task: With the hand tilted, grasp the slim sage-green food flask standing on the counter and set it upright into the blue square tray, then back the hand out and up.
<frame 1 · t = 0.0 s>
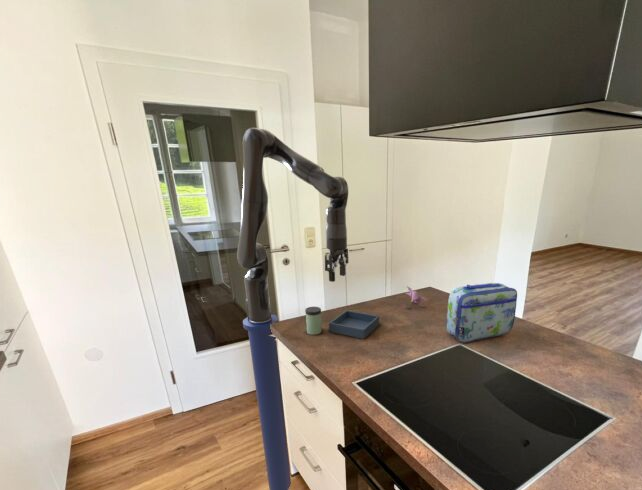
hand: (337, 278, 137), 21 cm above the worktop, tool pointing down, fingers open, 8 cm apart
lunch box: (477, 336, 141), on the worktop
lily: (414, 307, 169), on the worktop
food flask: (314, 331, 142), on the worktop
blue square tray: (354, 327, 146), on the worktop
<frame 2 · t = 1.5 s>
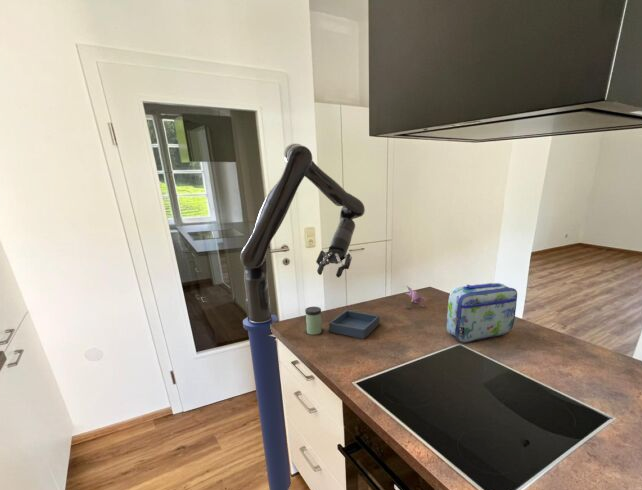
hand: (328, 275, 145), 20 cm above the worktop, tool tilted 45°, fingers open, 8 cm apart
nothing on the worktop moved.
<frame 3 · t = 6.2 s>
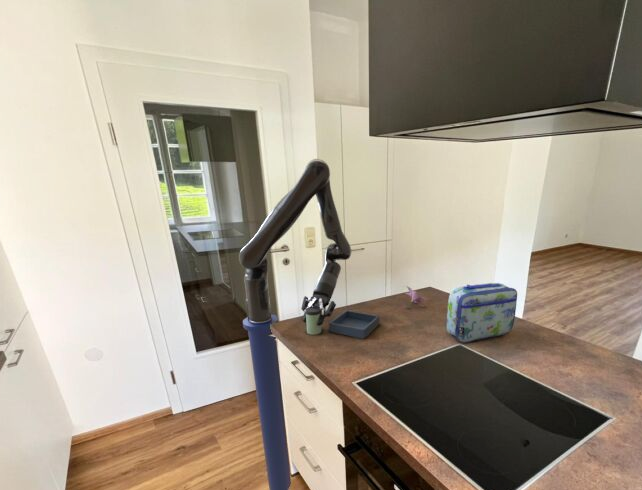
hand: (311, 323, 139), 4 cm above the worktop, tool tilted 45°, fingers closed on food flask, 6 cm apart
food flask: (314, 331, 142), on the worktop, touching gripper
everything else where it was.
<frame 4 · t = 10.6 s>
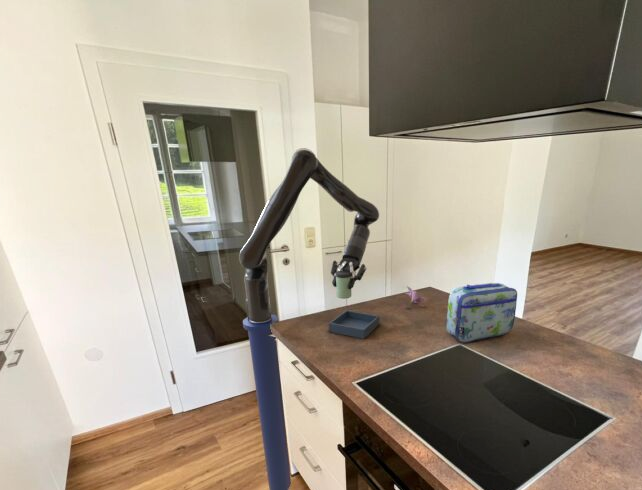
hand: (341, 286, 137), 18 cm above the worktop, tool tilted 45°, fingers closed on food flask, 6 cm apart
food flask: (344, 296, 140), point 14 cm above the worktop, touching gripper
everything else where it was.
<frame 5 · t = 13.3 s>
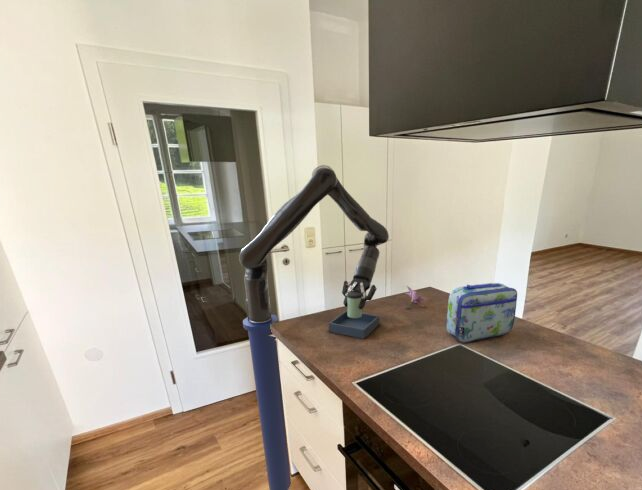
hand: (352, 306, 141), 10 cm above the worktop, tool tilted 45°, fingers closed on food flask, 6 cm apart
food flask: (354, 315, 144), point 5 cm above the worktop, touching gripper
everything else where it was.
when the fingers open (5 cm above the worktop, at t = 15.2 s): food flask stays where it is, resting on blue square tray.
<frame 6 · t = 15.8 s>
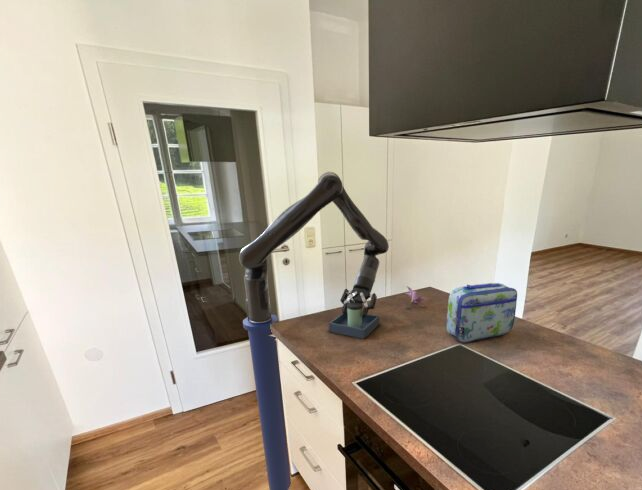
hand: (353, 315, 143), 6 cm above the worktop, tool tilted 45°, fingers open, 8 cm apart
food flask: (354, 326, 146), point 1 cm above the worktop, touching blue square tray
everything else where it was.
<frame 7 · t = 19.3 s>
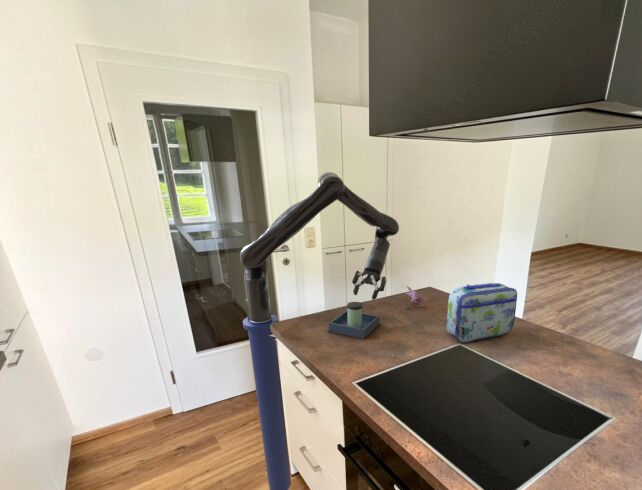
hand: (363, 296, 152), 10 cm above the worktop, tool tilted 35°, fingers open, 8 cm apart
nothing on the worktop moved.
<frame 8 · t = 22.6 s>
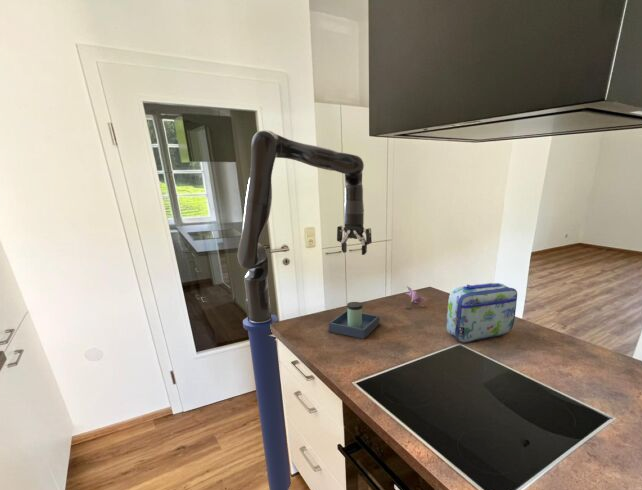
hand: (354, 253, 145), 28 cm above the worktop, tool pointing down, fingers open, 8 cm apart
nothing on the worktop moved.
at the end: food flask inside the target area in the blue square tray (0.1 cm from its centre), point 0.8 cm above the blue square tray's base; food flask tilted 0°; the gripper is holding nothing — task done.
